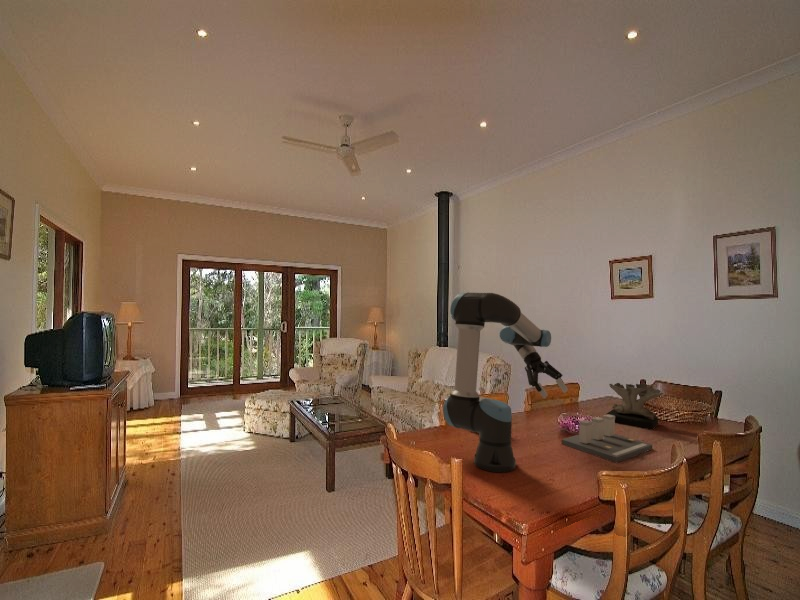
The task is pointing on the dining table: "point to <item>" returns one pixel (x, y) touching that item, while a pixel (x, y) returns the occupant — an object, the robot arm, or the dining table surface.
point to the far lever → (609, 425)
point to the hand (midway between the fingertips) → (556, 394)
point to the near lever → (585, 431)
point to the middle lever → (597, 428)
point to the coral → (634, 405)
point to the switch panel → (609, 446)
